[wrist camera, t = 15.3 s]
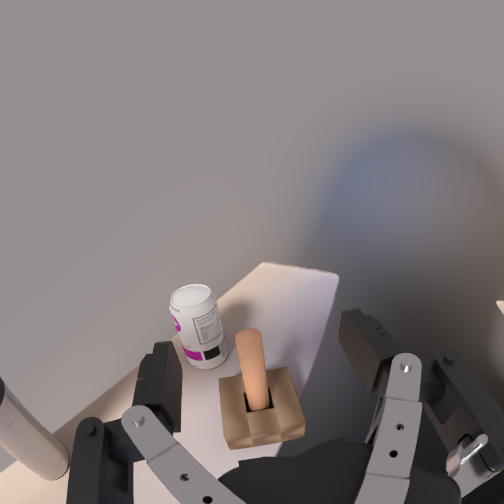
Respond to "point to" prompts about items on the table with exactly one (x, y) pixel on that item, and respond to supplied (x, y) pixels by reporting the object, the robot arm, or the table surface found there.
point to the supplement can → (199, 326)
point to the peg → (253, 368)
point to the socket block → (260, 412)
